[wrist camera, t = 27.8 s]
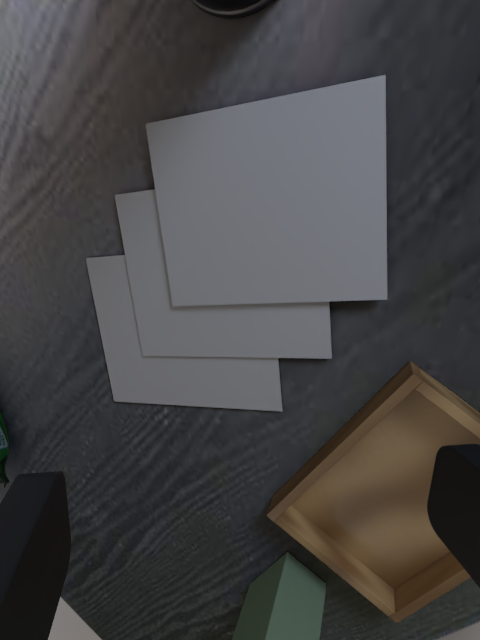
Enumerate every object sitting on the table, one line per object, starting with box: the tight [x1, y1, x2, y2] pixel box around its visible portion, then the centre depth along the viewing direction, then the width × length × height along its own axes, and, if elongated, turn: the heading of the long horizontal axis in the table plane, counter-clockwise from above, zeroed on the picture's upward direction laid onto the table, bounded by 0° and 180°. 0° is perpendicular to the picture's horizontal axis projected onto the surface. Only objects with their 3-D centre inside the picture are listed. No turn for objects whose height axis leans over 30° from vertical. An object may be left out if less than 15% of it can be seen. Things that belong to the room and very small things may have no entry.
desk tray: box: [266, 361, 480, 623], centre depth 31 cm, size 14×18×2 cm
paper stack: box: [86, 75, 387, 411], centre depth 31 cm, size 23×25×1 cm
